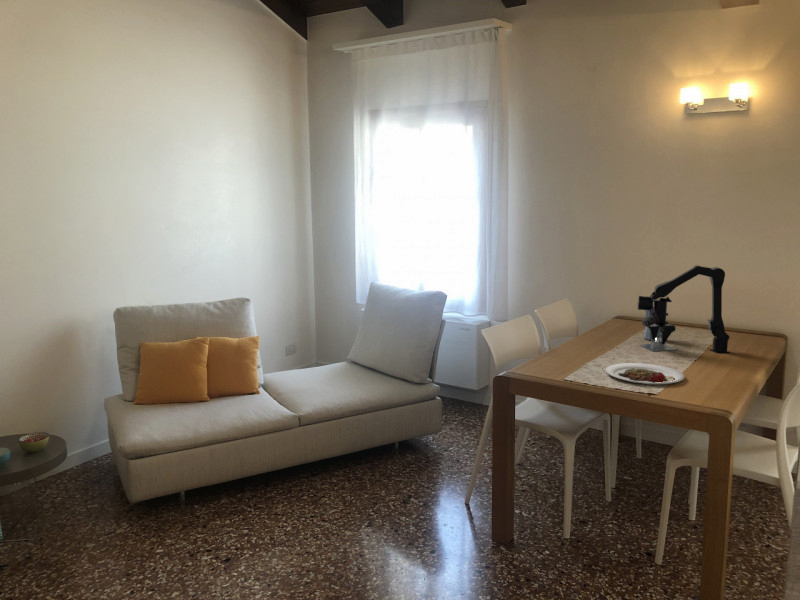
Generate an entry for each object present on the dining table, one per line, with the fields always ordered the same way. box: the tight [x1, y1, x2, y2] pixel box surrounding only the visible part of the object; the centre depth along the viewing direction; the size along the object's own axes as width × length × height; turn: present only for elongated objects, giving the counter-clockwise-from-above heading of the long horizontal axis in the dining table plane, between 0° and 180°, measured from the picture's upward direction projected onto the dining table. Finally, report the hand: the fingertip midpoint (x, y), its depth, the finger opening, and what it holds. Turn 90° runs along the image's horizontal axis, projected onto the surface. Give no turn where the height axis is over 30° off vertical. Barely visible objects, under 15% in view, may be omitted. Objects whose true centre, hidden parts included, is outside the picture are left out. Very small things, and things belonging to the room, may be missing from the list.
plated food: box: [605, 362, 685, 385], centre depth 260 cm, size 30×30×3 cm
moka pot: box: [643, 303, 661, 341], centre depth 326 cm, size 10×15×20 cm, turn 174°
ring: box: [650, 339, 667, 348], centre depth 309 cm, size 6×6×3 cm
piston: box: [639, 337, 677, 352], centre depth 309 cm, size 12×12×5 cm
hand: (658, 342), depth 308 cm, fingers open, 8 cm apart
